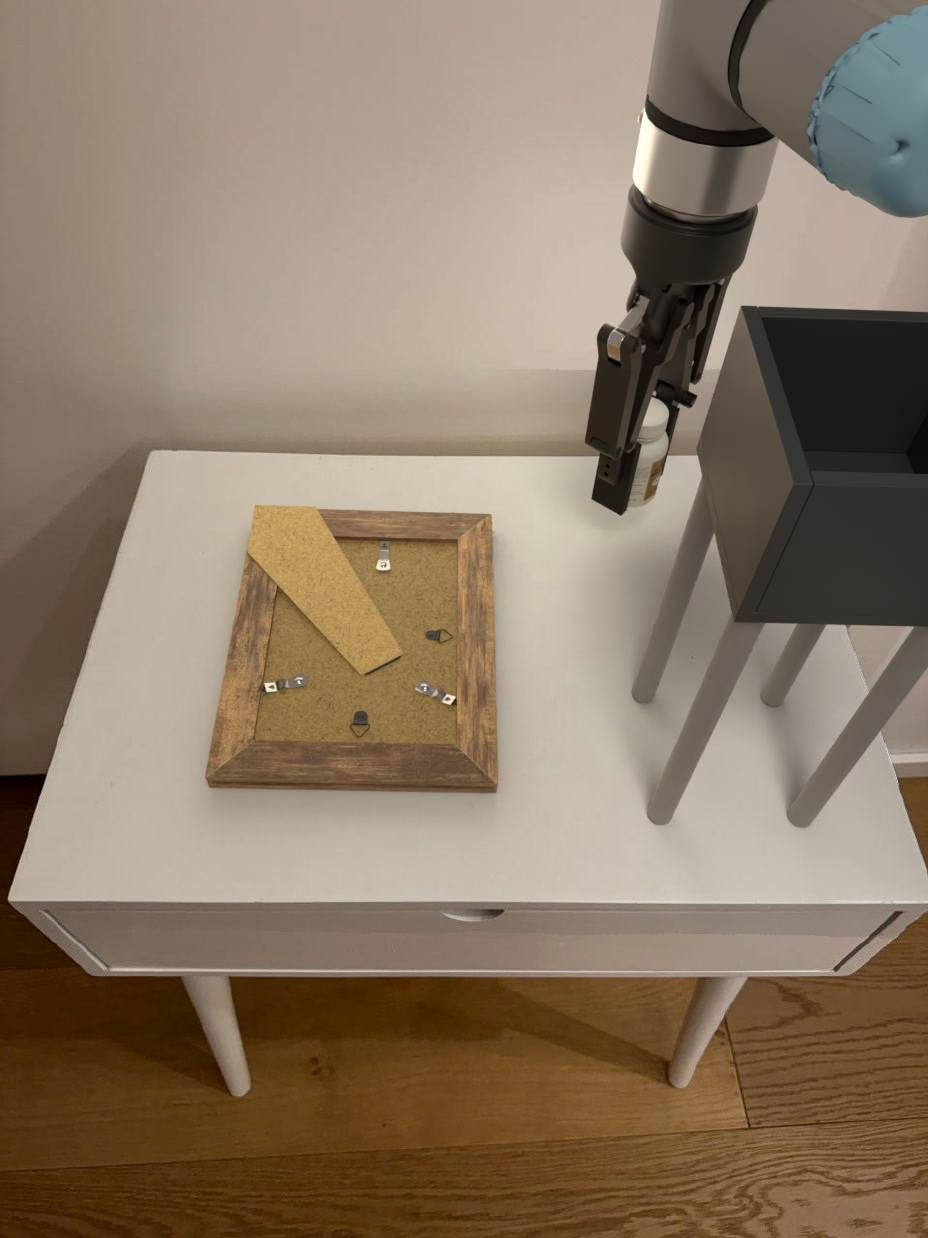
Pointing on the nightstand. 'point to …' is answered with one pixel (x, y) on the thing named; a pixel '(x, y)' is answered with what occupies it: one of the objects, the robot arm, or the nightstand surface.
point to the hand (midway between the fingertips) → (627, 486)
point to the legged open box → (806, 519)
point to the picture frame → (361, 655)
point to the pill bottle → (650, 454)
